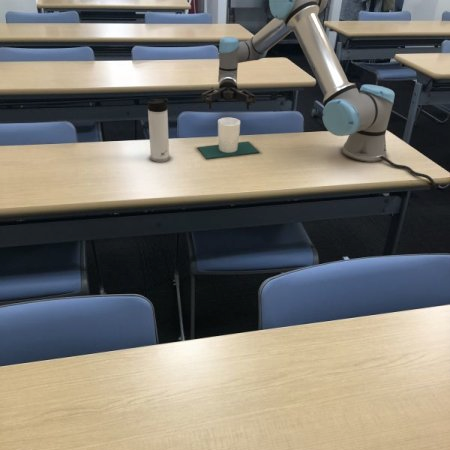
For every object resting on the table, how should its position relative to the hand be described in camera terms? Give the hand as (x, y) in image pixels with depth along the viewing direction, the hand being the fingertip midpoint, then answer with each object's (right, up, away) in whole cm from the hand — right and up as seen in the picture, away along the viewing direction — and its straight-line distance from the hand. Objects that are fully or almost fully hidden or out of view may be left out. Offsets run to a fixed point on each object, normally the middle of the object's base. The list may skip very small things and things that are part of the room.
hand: (229, 105), depth 174 cm
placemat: (0, -16, +1) cm, 16 cm away
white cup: (0, -16, +1) cm, 16 cm away
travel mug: (-24, -21, -6) cm, 32 cm away
